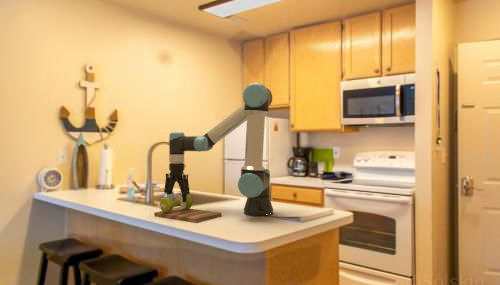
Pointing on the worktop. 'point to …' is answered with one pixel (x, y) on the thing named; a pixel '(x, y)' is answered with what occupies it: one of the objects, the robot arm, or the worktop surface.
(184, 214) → the board
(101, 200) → the worktop surface
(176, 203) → the dumbbell
